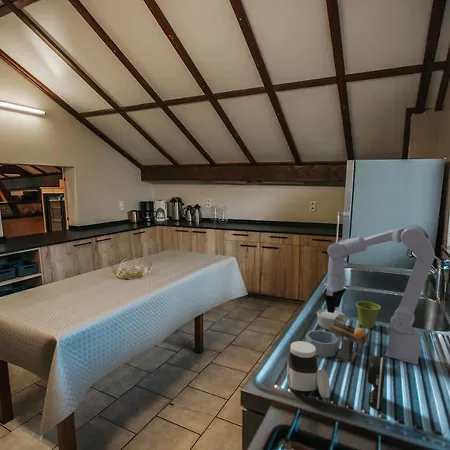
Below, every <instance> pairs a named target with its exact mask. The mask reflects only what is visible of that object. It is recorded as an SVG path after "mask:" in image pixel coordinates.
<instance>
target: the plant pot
mask: <svg viewBox="0 0 450 450" xmlns="http://www.w3.org/2000/svg"><path fill="white" fill-rule="evenodd" d="M355 305H356V309H357V318H358V319H357V321H358V325H359V326H360V325H361V327H363V328H365V327H366V328H365V329H372V328H375V325H376V321H377V318H378V313H379V312H380V310H381V309H382V308H381V305H379V304H377V303H376V302H375V303H374V302H370V301H363V300H362V301H357V302H355Z"/></svg>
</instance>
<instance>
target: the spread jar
mask: <svg viewBox="0 0 450 450" xmlns="http://www.w3.org/2000/svg"><path fill="white" fill-rule="evenodd" d="M289 349H290V350H289V351H288V354H287V366H286V367H287V369H286V380H287V381H286V383H287V386H288V388H289V390H291V391H292V392H295V393H298V394H301V395H308V394H311V393H314V392H315V391H316V390H317V389H318V392H319V395H320V397H321V398H322V399H328V398H330V396H331V384H330V378H329V375H328V372H327V371H326V369H318V360H317V355H315V354H316V348H315V346H314V345H312V344H310V343H308V342H305V341H301V340H299V341H298V340H297V341H293V342H291V344H290V348H289Z"/></svg>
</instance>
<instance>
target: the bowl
mask: <svg viewBox="0 0 450 450" xmlns="http://www.w3.org/2000/svg"><path fill="white" fill-rule="evenodd" d="M339 341H340V339H339V337H337V336H336V334H334V333H332V332H330V331H325V330H321V329H320V330H319V329H318V330H309V331H308V332H307V333H306V334H305V341H304V342H308V343H310V344H312V345H314V346H315V348H316V354H315V356H319V357H322V358H327V357H335V356H337V354H338V353H339V352H338V351H339Z"/></svg>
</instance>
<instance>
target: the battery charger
mask: <svg viewBox="0 0 450 450" xmlns="http://www.w3.org/2000/svg"><path fill="white" fill-rule="evenodd" d="M386 361H387V360H386V358H384V357H379V356H375V355H372V356H371V357H370V358H369V362H368V363H369V365H368V371H367V377H366V379H367V380H366V381H367V383H368V384H370V385H372V387H373V389H372V390H371V391H370V392H369V394H368V405H369V406H370V407H372V408H374V409H377V410H382V409H383V408H382V407H383V396H384V385H385V373H386Z"/></svg>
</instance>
